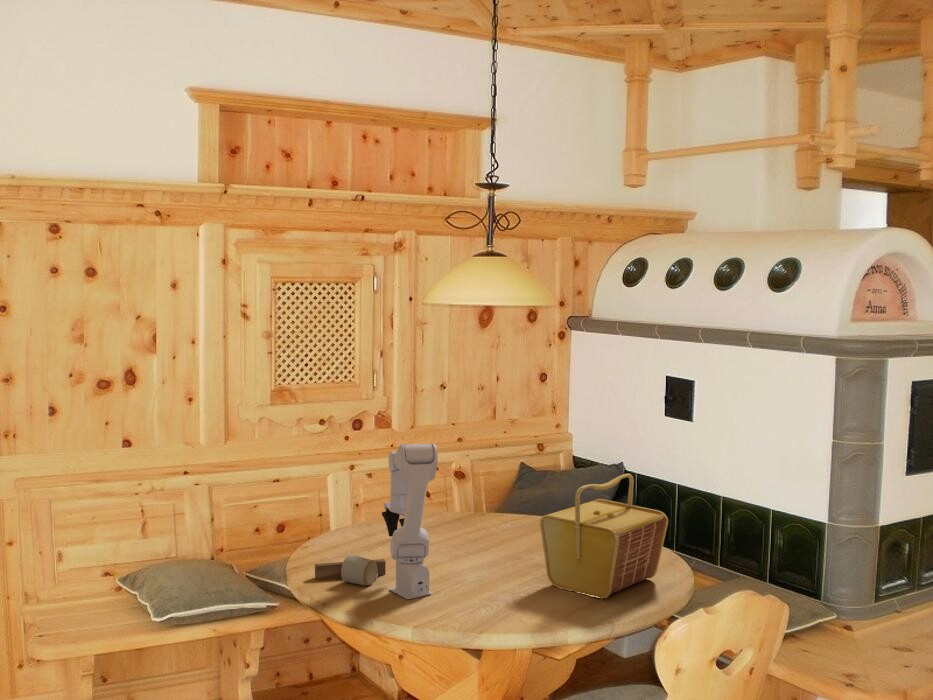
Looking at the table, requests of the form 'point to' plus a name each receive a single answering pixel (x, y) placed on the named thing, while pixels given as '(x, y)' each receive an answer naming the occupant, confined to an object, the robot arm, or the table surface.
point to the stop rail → (335, 569)
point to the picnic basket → (602, 543)
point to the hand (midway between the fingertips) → (399, 539)
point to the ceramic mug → (359, 570)
